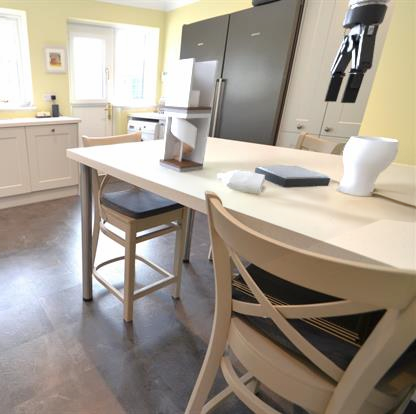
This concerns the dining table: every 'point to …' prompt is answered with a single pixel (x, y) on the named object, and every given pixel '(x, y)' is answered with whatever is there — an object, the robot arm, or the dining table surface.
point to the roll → (243, 181)
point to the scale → (292, 176)
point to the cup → (366, 163)
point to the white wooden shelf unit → (188, 113)
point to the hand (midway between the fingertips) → (338, 102)
